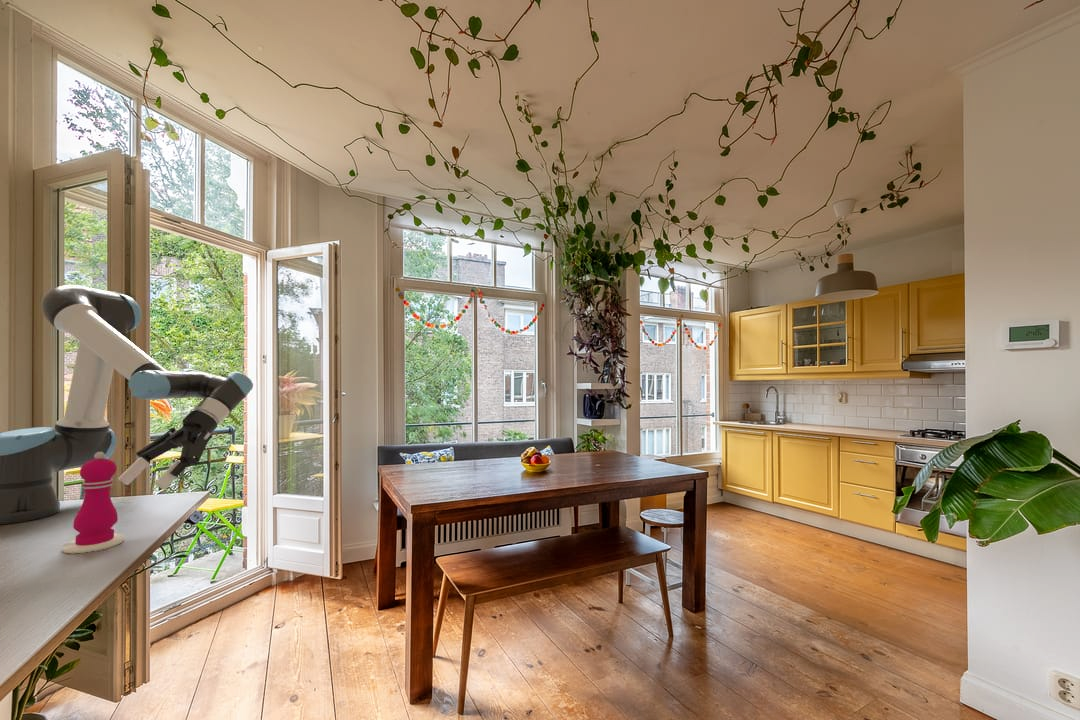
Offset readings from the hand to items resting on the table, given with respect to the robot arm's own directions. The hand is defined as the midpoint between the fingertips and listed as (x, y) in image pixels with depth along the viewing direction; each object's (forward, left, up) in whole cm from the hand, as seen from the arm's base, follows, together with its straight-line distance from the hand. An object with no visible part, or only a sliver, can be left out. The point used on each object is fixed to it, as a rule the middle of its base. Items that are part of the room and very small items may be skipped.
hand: (140, 484), depth 111 cm
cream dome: (+8, -4, -12) cm, 15 cm away
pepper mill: (+8, -4, -11) cm, 14 cm away
